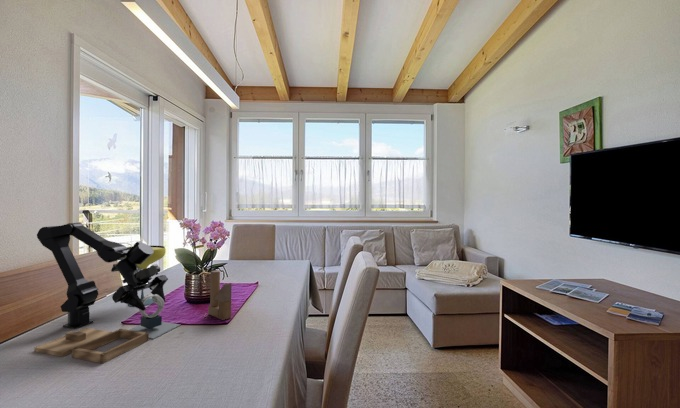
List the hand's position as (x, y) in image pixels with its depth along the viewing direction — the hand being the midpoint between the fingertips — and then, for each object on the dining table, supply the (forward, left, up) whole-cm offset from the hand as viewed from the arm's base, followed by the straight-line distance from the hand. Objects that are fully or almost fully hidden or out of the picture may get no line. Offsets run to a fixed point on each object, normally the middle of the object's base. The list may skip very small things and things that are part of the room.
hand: (154, 305), depth 109 cm
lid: (-16, -15, -9) cm, 24 cm away
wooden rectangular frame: (-1, -14, -9) cm, 17 cm away
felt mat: (-1, 0, -9) cm, 9 cm away
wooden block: (+14, +18, -9) cm, 24 cm away
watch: (-1, 0, -7) cm, 7 cm away
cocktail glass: (-30, +22, -9) cm, 38 cm away
